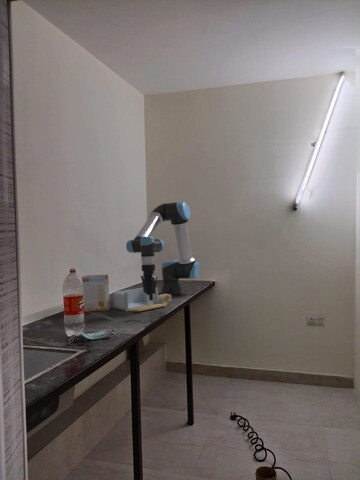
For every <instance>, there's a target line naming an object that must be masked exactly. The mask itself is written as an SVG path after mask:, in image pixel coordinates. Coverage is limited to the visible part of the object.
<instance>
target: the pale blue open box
mask: <svg viewBox="0 0 360 480" xmlns="http://www.w3.org/2000/svg"><path fill="white" fill-rule="evenodd" d="M158 295H159V289H158V287H156V289H155V293H154V294H153V305H155V304H159V302H158ZM112 302H113V303H112V305H113V308H112V309H118V310H120V311H121V310H122V311H125V312H128V311H130V310H129V309H135V308H140V307H145V306H147V294H146V293H144V289H143V287H138V288H133V289H132V288H131V289H125V290H120V291H119V290H118V291H113V292H112Z"/></svg>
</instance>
